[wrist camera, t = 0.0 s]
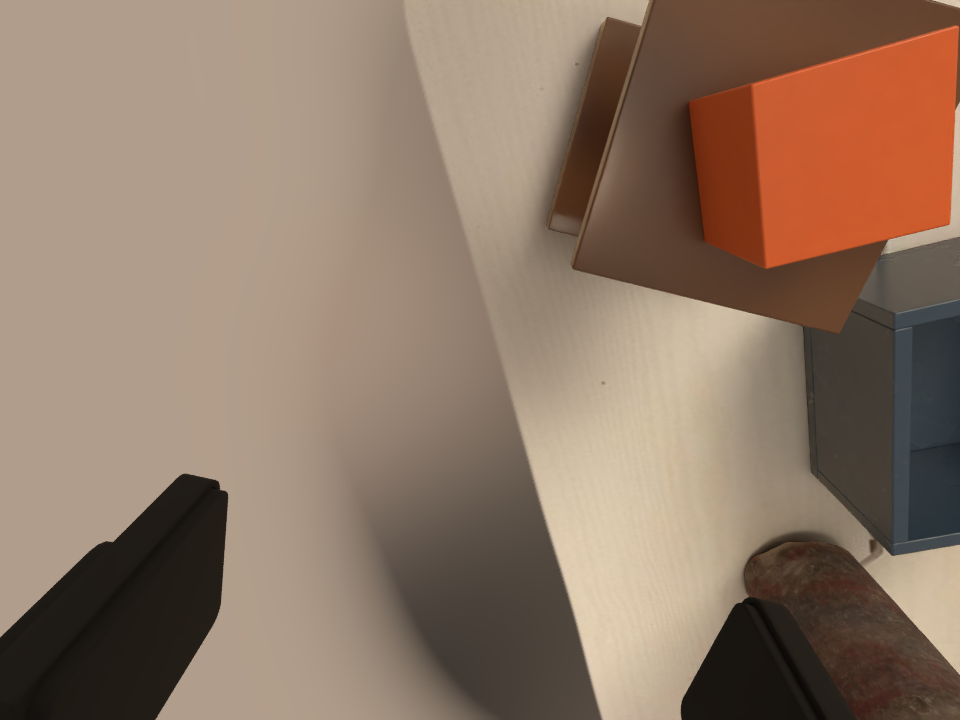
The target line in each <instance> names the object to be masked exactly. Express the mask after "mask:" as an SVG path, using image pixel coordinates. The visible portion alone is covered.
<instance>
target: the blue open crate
mask: <svg viewBox="0 0 960 720" xmlns="http://www.w3.org/2000/svg"><path fill="white" fill-rule="evenodd" d="M803 328H804V346H805V364H806V383H807V401H808V419H809V438H810V456H811V472H812V474H813V475H814V476H815V477H816V478H817V479H819V481H820V482H821V483H822V484H823V485H824V486H825V487H826V488H827V489H828V490H829V491H830V492H831V493H832V494H833V495H834V496H835V497H836V498H837V499H838V500H839V501H840V502H841V503H842V504H843V505H844V506H845V507H846V508H847V510H848V511H849V512H850V513H851V514H852V515H853V516H854V517H855V518H856V519H857V520H858V521H859V522H860V523H861V524H862V525H863V526H864V527H865V528H866V529H867V530H868V531H869V532H870V533H871V534H872V535H873V536H874V537H875V539H876V540H877V541H878V542H879V543H880V544H881V545H882V546H883V547H884V548H885V549H886V550H887V551H888V552H889V553H890V554H891V555H892V556H895V555H901V554H907V553H913V552H919V551H925V550H931V549H937V548H943V547H949V546H954V545H960V237H958V238H953V239H949V240H945V241H941V242H937V243H933V244H928V245H924V246H920V247H916V248H912V249H907V250H903V251H899V252H895V253H891V254H887V255H882V256H879V258H878V260H877V262H876V264H875V266H874V268H873V270H872V272H871V274H870V276H869V278H868V280H867V281H866V283H865V285H864V287H863V289H862V291H861V293H860V295H859V297H858V299H857V301H856V303H855V305H854V307H853V308H852V310H851V312H850V314H849V316H848V318H847V320H846V322H845V324H844V326H843V328H842V330H841V332H840V333H839V334H834V333H830V332H826V331H822V330H818V329H814V328H810V327H806V326H803Z"/></svg>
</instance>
